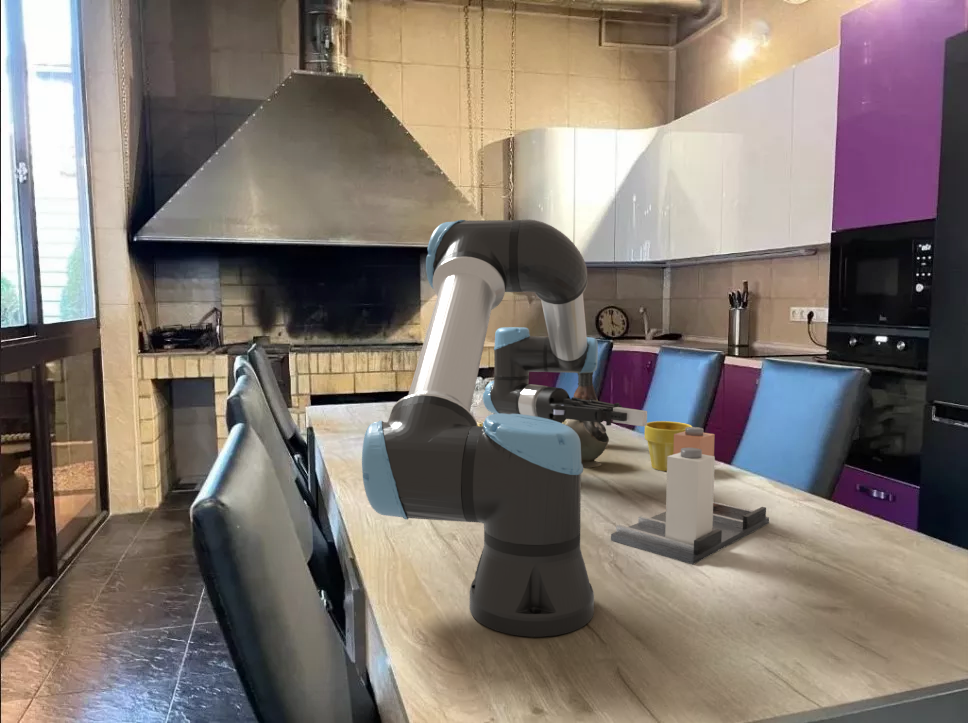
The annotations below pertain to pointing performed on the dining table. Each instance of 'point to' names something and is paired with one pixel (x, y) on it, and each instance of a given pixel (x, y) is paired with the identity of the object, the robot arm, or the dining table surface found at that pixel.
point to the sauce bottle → (585, 387)
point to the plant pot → (662, 441)
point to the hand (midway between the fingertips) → (644, 418)
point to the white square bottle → (689, 495)
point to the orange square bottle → (694, 440)
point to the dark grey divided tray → (725, 531)
